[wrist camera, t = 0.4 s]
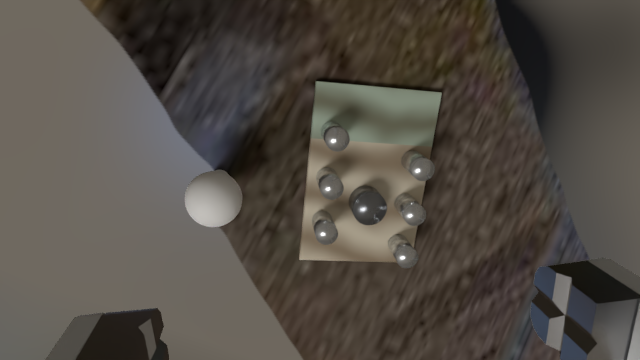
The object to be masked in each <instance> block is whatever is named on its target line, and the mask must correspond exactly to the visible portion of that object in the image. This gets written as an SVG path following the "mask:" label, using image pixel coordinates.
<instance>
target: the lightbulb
mask: <svg viewBox="0 0 640 360" xmlns="http://www.w3.org/2000/svg"><path fill="white" fill-rule="evenodd" d="M185 205H186V209H187V211H188V213H189V215H190V216H191V217H192V218H193V219H194V220H195V221H196V222H198V223H199V224H201V225H204V226H208V227H219V226H223V225H225V224H227V223H229V222H231V221H232V220H233V219H234V218H235V217H236V215H237V214H238V213H239V211H240V209H241V205H242V192H241V189H240V187H239V185H238V184H237V182H236V181H235V180H234V179H233V178H232V177H230V176H229V175H228V173H227V172H226V171H224V170H215V171H210V172H206V173H203V174H201V175H199V176H197V177H196V178H194V179H193V180H192V181H191V183H190V184H189V186H188V188H187V190H186V193H185Z"/></svg>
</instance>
